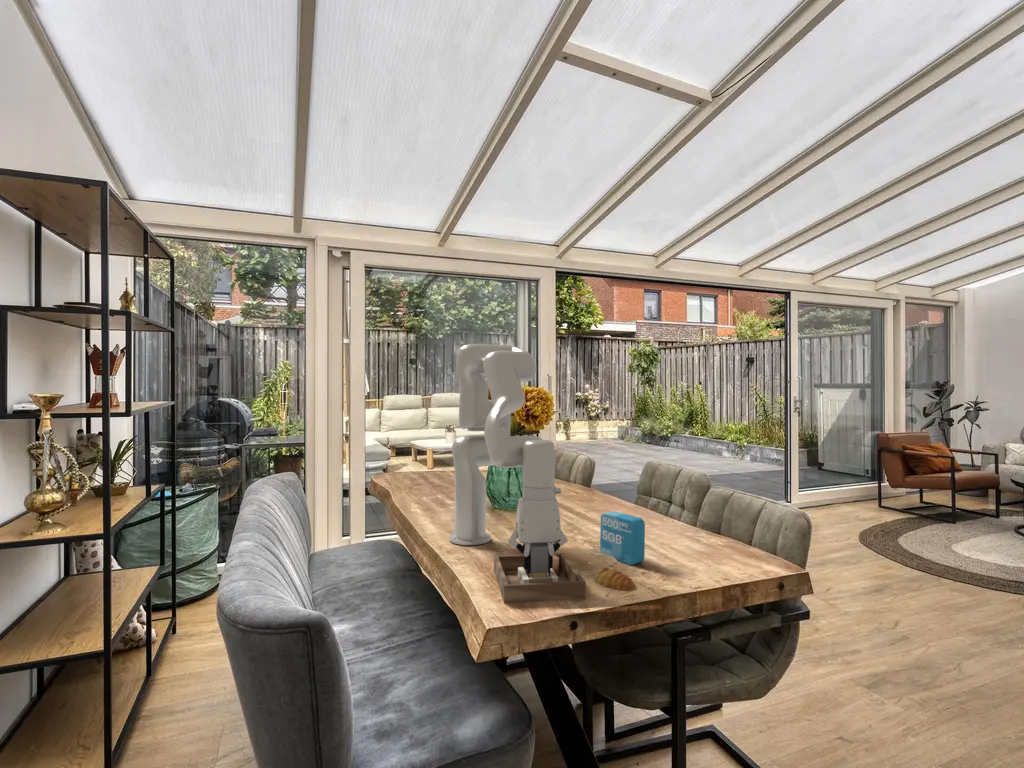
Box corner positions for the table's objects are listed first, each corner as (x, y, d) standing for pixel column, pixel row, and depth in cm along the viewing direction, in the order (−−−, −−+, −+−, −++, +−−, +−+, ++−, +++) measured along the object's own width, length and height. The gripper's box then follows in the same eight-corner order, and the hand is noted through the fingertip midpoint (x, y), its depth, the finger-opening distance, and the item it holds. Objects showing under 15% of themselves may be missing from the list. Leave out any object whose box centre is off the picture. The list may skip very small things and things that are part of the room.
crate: (493, 573, 135) (493, 555, 135) (563, 570, 138) (563, 553, 138) (504, 606, 116) (504, 586, 116) (585, 602, 118) (585, 582, 118)
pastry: (641, 590, 126) (641, 574, 126) (624, 598, 122) (624, 581, 122) (608, 579, 133) (608, 563, 133) (591, 586, 128) (591, 570, 128)
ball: (539, 571, 135) (539, 555, 135) (556, 570, 136) (556, 554, 136) (542, 577, 131) (543, 561, 131) (560, 576, 131) (560, 560, 131)
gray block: (527, 575, 127) (528, 541, 127) (544, 575, 128) (544, 541, 128) (530, 582, 123) (531, 547, 123) (548, 581, 124) (548, 546, 124)
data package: (599, 555, 151) (600, 512, 151) (610, 551, 154) (611, 509, 153) (633, 567, 141) (634, 521, 141) (644, 563, 144) (645, 518, 144)
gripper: (569, 489, 130) (568, 564, 131) (500, 490, 128) (500, 567, 128) (577, 495, 123) (576, 575, 123) (505, 497, 121) (504, 579, 121)
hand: (537, 570), depth 126 cm, fingers closed on gray block, 4 cm apart
